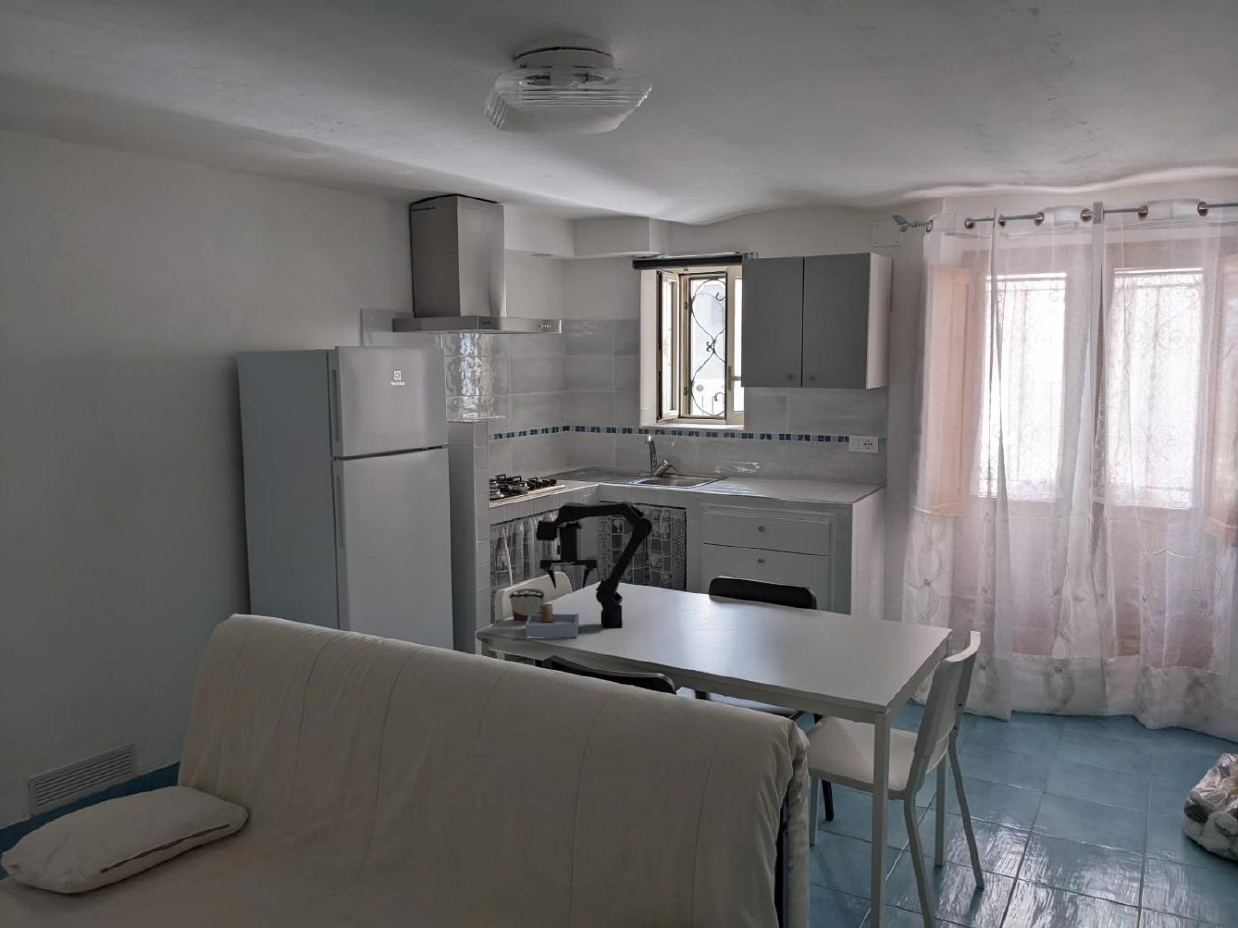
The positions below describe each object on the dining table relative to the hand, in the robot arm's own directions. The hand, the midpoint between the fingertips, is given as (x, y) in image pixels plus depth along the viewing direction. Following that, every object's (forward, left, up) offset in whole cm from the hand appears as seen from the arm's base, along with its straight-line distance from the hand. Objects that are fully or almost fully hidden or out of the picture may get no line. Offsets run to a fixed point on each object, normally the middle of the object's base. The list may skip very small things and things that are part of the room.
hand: (569, 588), depth 312 cm
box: (+5, +10, -12) cm, 16 cm away
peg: (+7, +10, -12) cm, 17 cm away
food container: (+14, -5, -12) cm, 19 cm away
